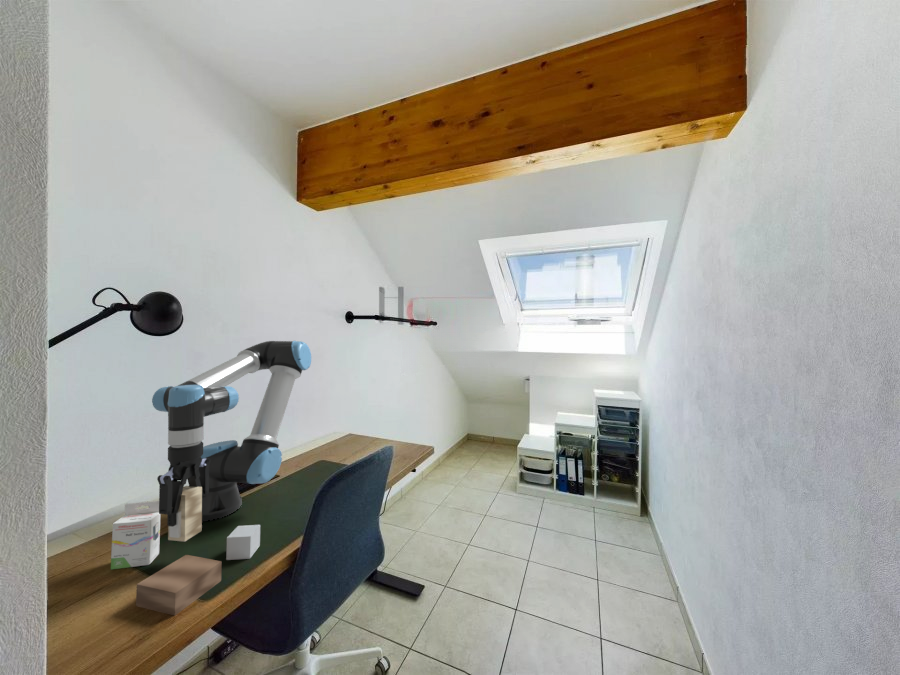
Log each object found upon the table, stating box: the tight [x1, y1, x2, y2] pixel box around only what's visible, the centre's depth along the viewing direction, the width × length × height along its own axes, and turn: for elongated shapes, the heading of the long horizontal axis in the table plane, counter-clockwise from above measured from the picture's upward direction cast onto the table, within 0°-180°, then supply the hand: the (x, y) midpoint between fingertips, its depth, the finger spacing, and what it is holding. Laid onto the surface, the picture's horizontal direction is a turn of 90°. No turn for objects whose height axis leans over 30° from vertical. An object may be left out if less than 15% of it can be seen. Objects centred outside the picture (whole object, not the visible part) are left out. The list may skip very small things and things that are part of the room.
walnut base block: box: [135, 554, 223, 617], centre depth 78 cm, size 11×11×5 cm
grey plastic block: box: [225, 524, 261, 561], centre depth 94 cm, size 6×6×6 cm
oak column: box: [167, 485, 203, 542], centre depth 90 cm, size 5×5×12 cm
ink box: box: [110, 500, 162, 570], centre depth 90 cm, size 9×5×15 cm, turn 105°
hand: (185, 530), depth 90 cm, fingers closed on oak column, 5 cm apart
